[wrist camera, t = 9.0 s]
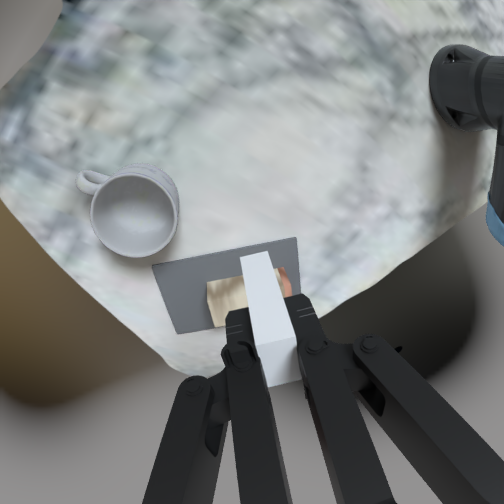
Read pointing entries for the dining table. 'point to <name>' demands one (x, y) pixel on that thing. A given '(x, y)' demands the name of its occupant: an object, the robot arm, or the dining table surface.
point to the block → (236, 295)
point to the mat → (210, 269)
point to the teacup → (132, 208)
